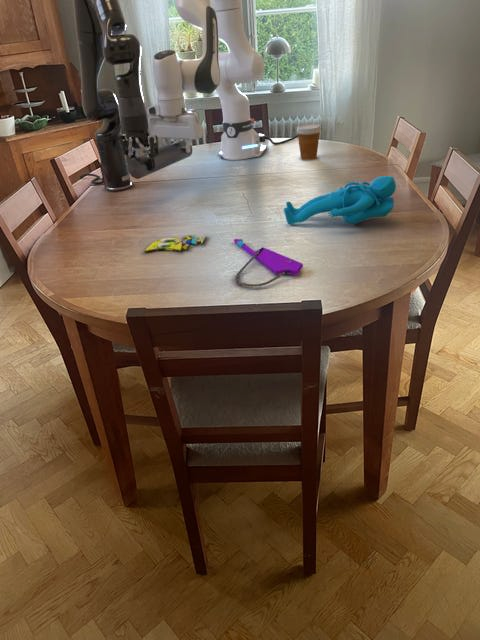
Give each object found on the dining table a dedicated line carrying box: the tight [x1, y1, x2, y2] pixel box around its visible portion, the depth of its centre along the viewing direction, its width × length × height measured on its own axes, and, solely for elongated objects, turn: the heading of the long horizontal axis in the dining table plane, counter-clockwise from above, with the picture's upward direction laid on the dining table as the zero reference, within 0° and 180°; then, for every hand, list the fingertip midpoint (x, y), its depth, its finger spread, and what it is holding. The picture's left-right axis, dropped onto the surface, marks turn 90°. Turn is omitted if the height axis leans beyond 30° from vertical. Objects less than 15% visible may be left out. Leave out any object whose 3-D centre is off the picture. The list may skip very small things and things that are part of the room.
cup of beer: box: [296, 123, 322, 161], centre depth 190 cm, size 10×10×12 cm
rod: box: [127, 139, 193, 180], centre depth 157 cm, size 26×6×6 cm, turn 148°
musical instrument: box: [233, 238, 304, 287], centre depth 115 cm, size 24×2×20 cm
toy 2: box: [283, 175, 397, 226], centre depth 132 cm, size 17×11×30 cm
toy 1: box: [144, 234, 207, 254], centre depth 130 cm, size 10×1×15 cm
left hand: (143, 169), depth 151 cm, fingers closed on rod, 6 cm apart
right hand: (178, 151), depth 164 cm, fingers closed on rod, 6 cm apart
